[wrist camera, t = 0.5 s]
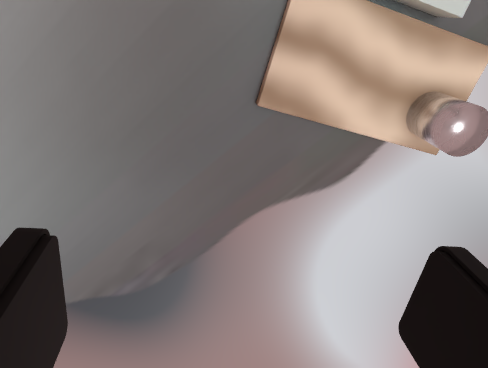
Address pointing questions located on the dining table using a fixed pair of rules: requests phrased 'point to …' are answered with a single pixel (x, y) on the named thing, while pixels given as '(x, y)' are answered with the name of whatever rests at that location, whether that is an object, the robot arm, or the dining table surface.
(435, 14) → the carton
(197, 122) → the dining table surface
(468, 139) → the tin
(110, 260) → the dining table surface
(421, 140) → the wooden board
